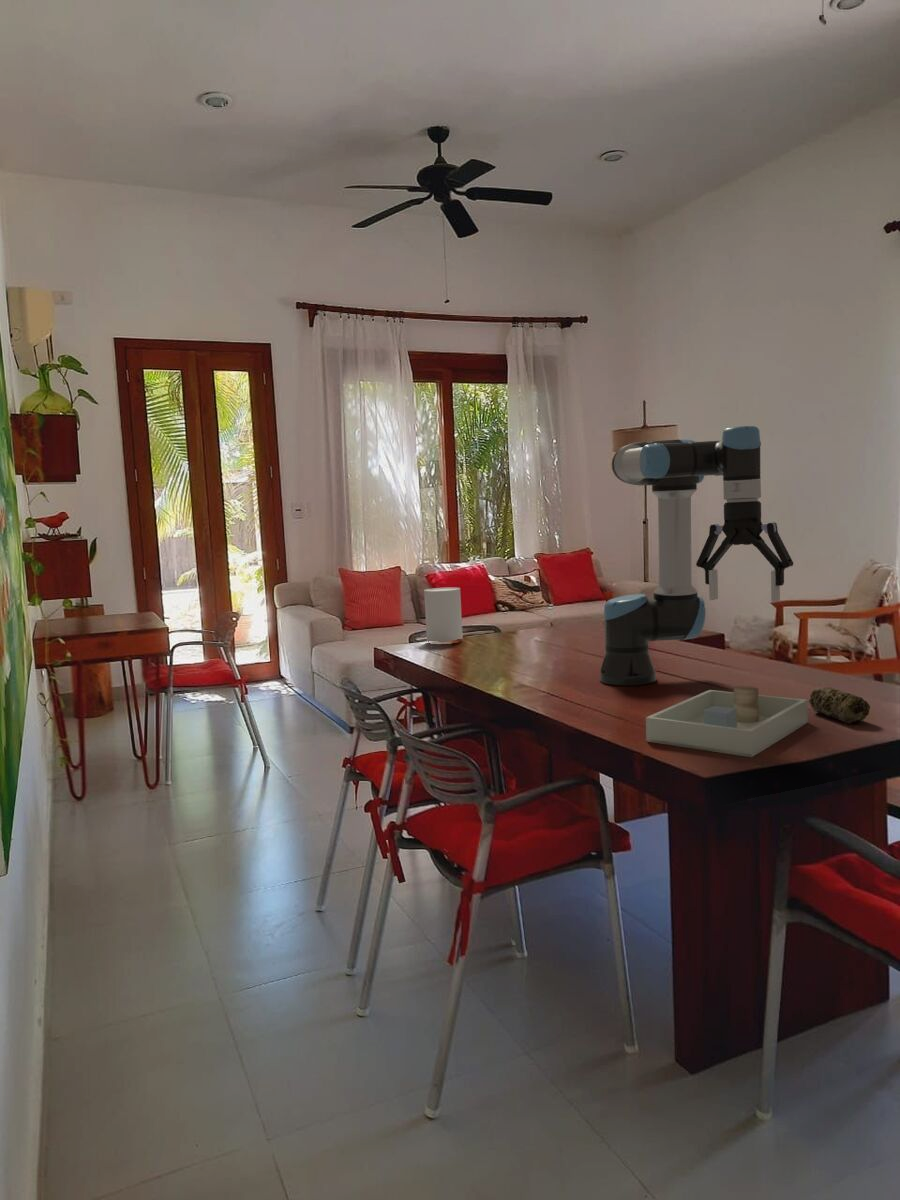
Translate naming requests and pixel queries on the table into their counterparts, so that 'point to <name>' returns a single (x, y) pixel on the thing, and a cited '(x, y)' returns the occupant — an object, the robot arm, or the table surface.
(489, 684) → the table surface
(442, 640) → the canister
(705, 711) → the slate cube
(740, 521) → the robot arm
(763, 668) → the table surface
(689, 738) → the tote
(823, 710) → the coral
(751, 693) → the beech cylinder
